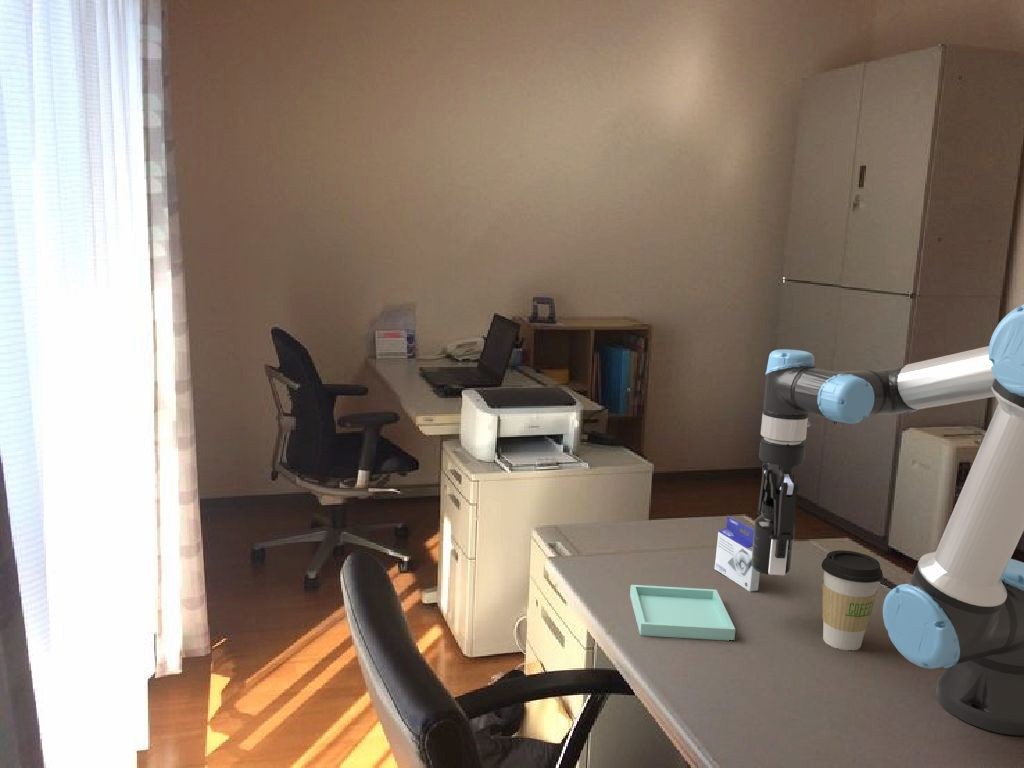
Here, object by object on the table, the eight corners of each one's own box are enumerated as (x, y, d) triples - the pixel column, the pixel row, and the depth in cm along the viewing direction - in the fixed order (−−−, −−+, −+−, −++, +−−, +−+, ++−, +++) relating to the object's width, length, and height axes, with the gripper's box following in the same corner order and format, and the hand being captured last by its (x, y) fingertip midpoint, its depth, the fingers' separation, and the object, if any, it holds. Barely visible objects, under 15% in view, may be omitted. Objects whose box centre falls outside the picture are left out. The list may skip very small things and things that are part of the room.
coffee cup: (877, 659, 151) (889, 575, 148) (815, 650, 153) (826, 567, 150) (867, 633, 161) (878, 553, 158) (809, 625, 162) (819, 545, 159)
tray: (734, 640, 155) (735, 629, 155) (640, 635, 155) (641, 623, 155) (715, 600, 171) (716, 589, 170) (629, 595, 171) (630, 584, 170)
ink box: (712, 569, 185) (718, 515, 183) (722, 568, 186) (727, 514, 184) (749, 593, 175) (756, 536, 172) (759, 591, 176) (765, 534, 173)
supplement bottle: (786, 563, 164) (792, 499, 162) (794, 578, 158) (801, 511, 155) (747, 560, 165) (753, 496, 163) (753, 574, 158) (760, 508, 156)
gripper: (823, 454, 147) (809, 589, 151) (788, 427, 167) (777, 547, 171) (776, 452, 147) (763, 587, 151) (747, 425, 167) (736, 545, 171)
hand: (770, 565), depth 161 cm, fingers closed on supplement bottle, 7 cm apart
